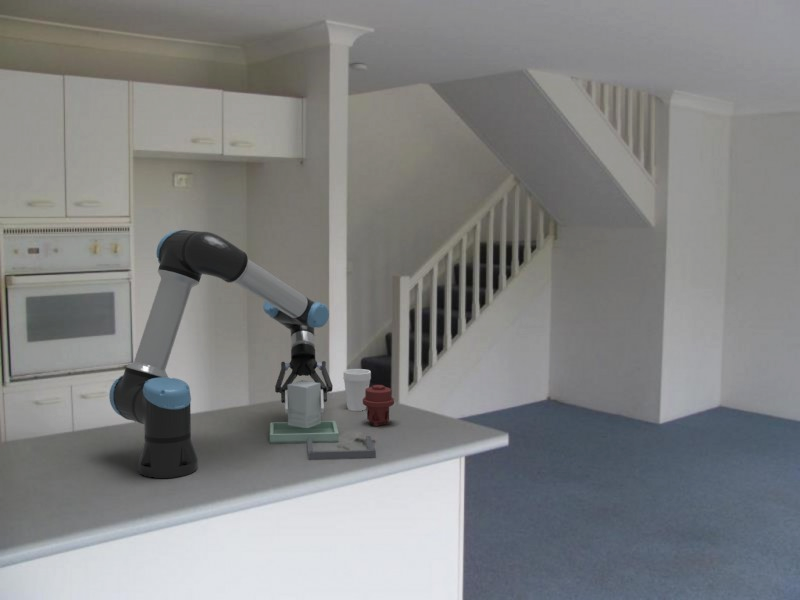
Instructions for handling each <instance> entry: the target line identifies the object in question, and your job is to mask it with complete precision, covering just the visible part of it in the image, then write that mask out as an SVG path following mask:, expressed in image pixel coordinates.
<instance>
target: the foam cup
mask: <svg viewBox="0 0 800 600" xmlns="http://www.w3.org/2000/svg"><path fill="white" fill-rule="evenodd" d="M343 380H344V381H343V382H344V389H345V390H344V391H345V398H346V399H345V400H346V404H347V405H346V406H347V410H348V411H352V412H361V411H362V410H363V411H366V410H367V406H365V405H364V404H363V398H364V397H365V389H367V388H369V387H370V384H371V380H372V372H371V370H370V369H363V368H350V369H349V368H348V369H345V370H343Z"/></svg>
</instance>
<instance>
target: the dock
mask: <svg viewBox="0 0 800 600" xmlns="http://www.w3.org/2000/svg"><path fill="white" fill-rule="evenodd" d="M365 444H366V447H367V449H343V450H342V449H341V450H340V449H339V450H314V448H313V443H312V438H307V443H306V445H307V446H306V447H307V454H308V460H309V459H314V460H338V459H339V458H349V459H370V458H369V457H376V453H377V451H376V448H375V445H374V442H373V441H372V438H371V436H370V435H366V436H365ZM363 457H365V458H363ZM339 460H340V459H339Z"/></svg>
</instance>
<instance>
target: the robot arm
mask: <svg viewBox="0 0 800 600" xmlns="http://www.w3.org/2000/svg"><path fill="white" fill-rule="evenodd" d="M156 247H157V248H156V258H157V261H158V264H159V266H158V269H157V273H158V275H159V276H160V281H159V283H158V286H157V291H156V293H155V296H154V300H153V302H152V305H151V309H150V311H149V315H148V318H147V321H146V324H145V327H144V330H143V333H142V336H141V338H140V342H139V345H138V349H137V351H136V353H135V358H134V361H132V362H131V363H129V364H128V365H126V366H125V369H124V371H123V375H121V376H119V377H118V378H116V379H115V380H114V381H113V383H112V384H111V387H110V389H109V394H108V395H109V403H110V406H111V408H112V409H113V410H114V412H115V413H116V414H117V415H119V416H121V417H122V418H124V419H126V420H128V421H132V422H133V421H134V422H137V423H139V424H142V425H144V427H143V429H144V433H143V434H144V443H143V446H142V449H141V452H140V453H141V454H139V458H138V462H137V472H138V474H139V473H140V474H139V475H141V474H142V475H141V476H143V475H144V476H143V477H146V476H148V477H147V478H151V477H154V478H153V479H171V478H179V477H184V476H187V475H190V474H192V472H193V473H195V472H196V471H197V470H198V469H199V458H198V455H197V453H196V450H195V447H194V444H193V442H192V438H191V437H192V433H191V432H192V431H191V430H192V429H191V428H192V427H191V425H192V424H191V423H192V422H191V419H192V418H191V415H192V414H191V402H192V396H191V389H190V386H189V385H188V383H187V382H186V381H184V380H181V379H180V378H179V379H178V378H175V377H172V378H171V377H169V375H168V374H167V372H166V369H167V366H168V363H169V360H170V356H171V354H172V350H173V347H174V344H175V341H176V337H177V335H178V332H179V329H180V326H181V322H182V320H183V315H184V312H185V310H186V306H187V303H188V301H189V297H190V294H191V291H192V289H193V288H194V287H195V286H197V285H199V284H200V281H201V278H202V275H207V276H211V277H216V278H218V279H221V280H223V281H224V282H225V283H230V284H232V283H234V284H236V285H238V286H239V287H241V288H242V289H244V290H246V291H247V292H250V293H251V294H252V295H254V296H256V297H258V298H259V299H260V300H262V301H264V302H263V307H262V308H263V312H264V313H265V314H267V315H268V316H269V318H271V319H273V320H275V322H278V323H279V324H281V325H282V326H284V327H285V328H287V329H289V330H290V357H291V358H290V361H289V362H285V361H281V363H280V372H279V373H278V374H279V375H278V377H277V381H276V383H275V386H274V391H275V393H277V394H278V393H280V396H281V397H280V400H281V401H280V402H281V403H282V404H283V403H284V410H285V411H284V412H285V413H284V414H287V415H288V387H287V385H288V384H291V383H294V381H295V379H296V378H297V377H302V376H307V377H308V376H309V377H310V378H311V379H312V380H313V382H316V383H321V384H320V385H321V413H322V414H323V413H324V410H325V404H324V403H326V402H327V401H328V392H329V393H331V392H333V388H334V387H333V383H332V381H331V378H330V375H329V373H328V372H329V371H328V369H327V367H326V363H327V362H326V361H325V360H323V361H321V362H317V359H316V340H315V339H316V338H315V336H316V335H315V328H318V329H319V328H323V327H324V326H325V325H326V324H327V322H328V321H329V316H330V310H329V308H328V306H327V305H326V304H324V303H323V302H319V301H313V300H311V299H310V298H308V297H307V296H305V295H304V294H302V293H300V292H299V291H298V290H296V289H295V288H293V287H291V286H290V285H289V284H286V283H285V282H284V281H282V280H281V279H279V278H278V277H276V276H274V275H273V274H271V272H269V271H267V270H266V269H265V268H263V267H261V266H259V265H258V264H256V263H255V262H254V261H252V260H250V259H249V255H248V254H247V253H246V252H245V251H243V250H242V249H240V248H239V247H238V246H236V245H235V244H233V243H231V242H230V241H228V240H226V239H225V238H223V237H221V236H220V235H218V234H215V233H213V232H210V231H198V230H187V229H179V230H173V231H170V232H168V233H166V234H165V235H164V236H163V237H162V238H161V239H160V241H159V243H158V245H157V246H156ZM289 368H290V369H291V370H292V371H291V373H290V374H289V375H288V377H287V379H286V380H285V382H284V383H283V381H284V378H285V375H286V371H288V369H289ZM316 368H318V370H320V372H321V375H322V377H323V379H322V378H321V377H320V376H319V375H318V373H317V372H316ZM323 380H324V381H323ZM282 383H283V385H282Z"/></svg>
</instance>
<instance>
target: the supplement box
mask: <svg viewBox="0 0 800 600" xmlns="http://www.w3.org/2000/svg"><path fill="white" fill-rule="evenodd" d="M320 384H321V383H316V382H315V381H308V380H298V381H295V382H292V383H291V384H288V385H287V387H288V414H287V422H288V425H291V426H296V427H301V428H309V427H312V426H315V425H318V424H320V423H321V421H322V418H321V417H322V416H321V415H322V414H321V385H320Z"/></svg>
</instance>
